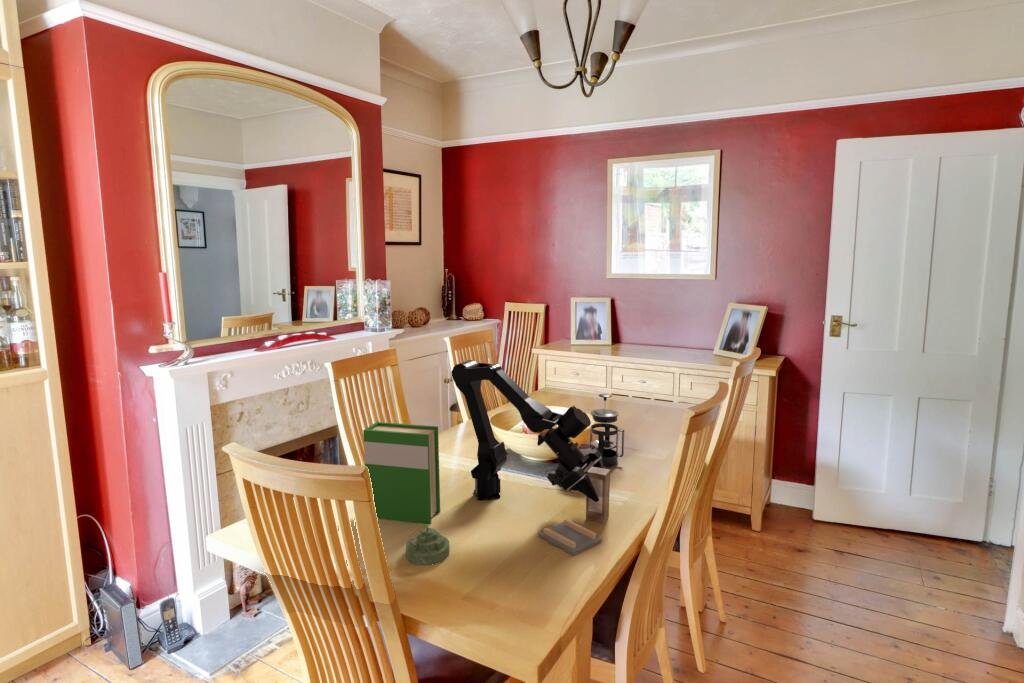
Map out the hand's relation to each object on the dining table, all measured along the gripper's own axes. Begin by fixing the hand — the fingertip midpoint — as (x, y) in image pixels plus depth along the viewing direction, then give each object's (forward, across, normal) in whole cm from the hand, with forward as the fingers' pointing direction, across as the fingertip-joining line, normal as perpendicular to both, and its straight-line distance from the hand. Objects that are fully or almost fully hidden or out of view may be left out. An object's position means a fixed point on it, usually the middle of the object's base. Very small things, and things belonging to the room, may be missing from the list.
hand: (603, 494), depth 152 cm
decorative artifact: (-17, +34, -28) cm, 47 cm away
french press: (-3, -39, -12) cm, 41 cm away
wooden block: (+4, 0, -6) cm, 7 cm away
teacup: (-4, -24, -14) cm, 28 cm away
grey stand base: (+2, +14, -8) cm, 16 cm away
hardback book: (-29, +20, -39) cm, 53 cm away
